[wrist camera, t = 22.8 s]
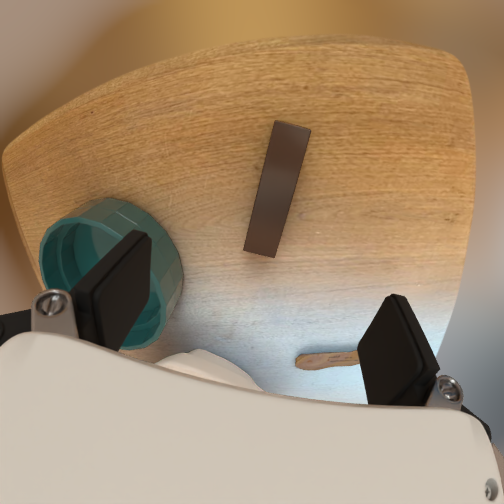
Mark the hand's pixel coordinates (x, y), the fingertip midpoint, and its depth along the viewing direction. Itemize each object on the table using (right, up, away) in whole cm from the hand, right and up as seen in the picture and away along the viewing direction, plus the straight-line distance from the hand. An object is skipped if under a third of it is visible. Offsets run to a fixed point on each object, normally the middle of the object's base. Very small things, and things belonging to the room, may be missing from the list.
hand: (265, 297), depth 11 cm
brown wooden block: (+2, +8, +16) cm, 18 cm away
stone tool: (+13, -12, +26) cm, 32 cm away
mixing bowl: (-17, 0, +22) cm, 28 cm away
